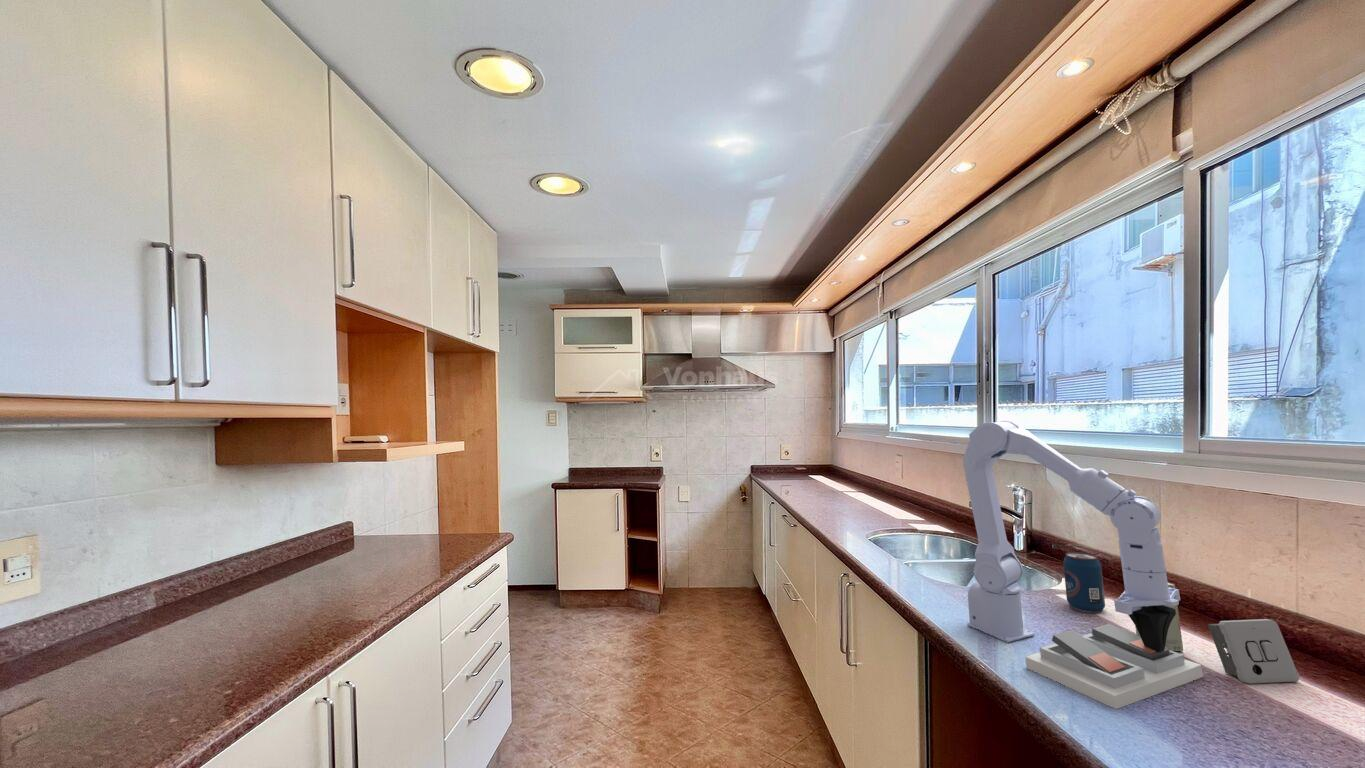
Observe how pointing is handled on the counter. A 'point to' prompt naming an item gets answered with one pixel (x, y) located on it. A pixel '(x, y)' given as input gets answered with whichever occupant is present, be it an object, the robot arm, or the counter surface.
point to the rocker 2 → (1127, 641)
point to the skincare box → (1172, 630)
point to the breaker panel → (1120, 686)
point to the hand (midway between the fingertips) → (1154, 649)
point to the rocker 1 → (1088, 652)
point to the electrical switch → (1254, 651)
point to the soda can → (1084, 582)
